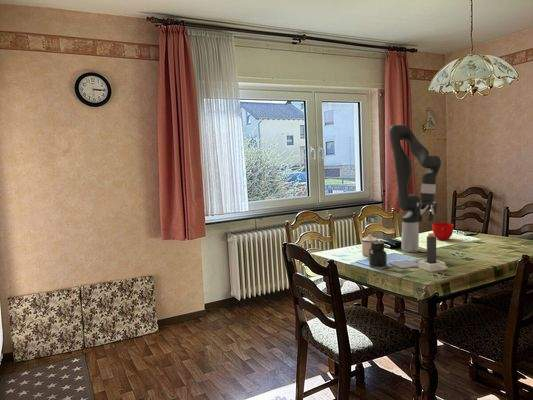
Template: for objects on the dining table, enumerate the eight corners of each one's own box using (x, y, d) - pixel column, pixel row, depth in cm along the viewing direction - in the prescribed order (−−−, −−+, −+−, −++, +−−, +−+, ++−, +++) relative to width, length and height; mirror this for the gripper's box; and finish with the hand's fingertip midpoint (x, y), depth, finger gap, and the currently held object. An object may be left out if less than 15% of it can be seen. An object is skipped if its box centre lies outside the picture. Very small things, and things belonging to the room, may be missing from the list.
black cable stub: (424, 268, 208) (424, 233, 206) (432, 267, 209) (432, 232, 207) (430, 270, 203) (430, 234, 202) (438, 269, 205) (438, 233, 203)
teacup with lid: (370, 257, 234) (369, 236, 233) (358, 254, 242) (358, 234, 241) (385, 254, 241) (384, 234, 240) (373, 251, 248) (372, 232, 247)
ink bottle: (385, 262, 222) (385, 240, 221) (389, 266, 213) (389, 243, 212) (367, 263, 222) (366, 240, 221) (370, 267, 214) (369, 244, 212)
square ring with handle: (418, 267, 209) (418, 260, 209) (432, 265, 212) (432, 258, 211) (438, 274, 195) (438, 267, 195) (454, 272, 198) (454, 265, 197)
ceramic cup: (431, 242, 268) (431, 226, 267) (432, 237, 284) (432, 222, 283) (453, 242, 263) (453, 227, 262) (453, 237, 279) (453, 222, 278)
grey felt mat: (387, 263, 219) (387, 262, 219) (407, 260, 223) (407, 260, 223) (401, 268, 208) (401, 267, 208) (421, 266, 212) (421, 265, 212)
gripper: (431, 191, 234) (428, 219, 236) (413, 191, 227) (410, 220, 229) (442, 192, 227) (439, 222, 229) (424, 192, 221) (421, 223, 223)
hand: (425, 221), depth 229 cm, fingers open, 8 cm apart
